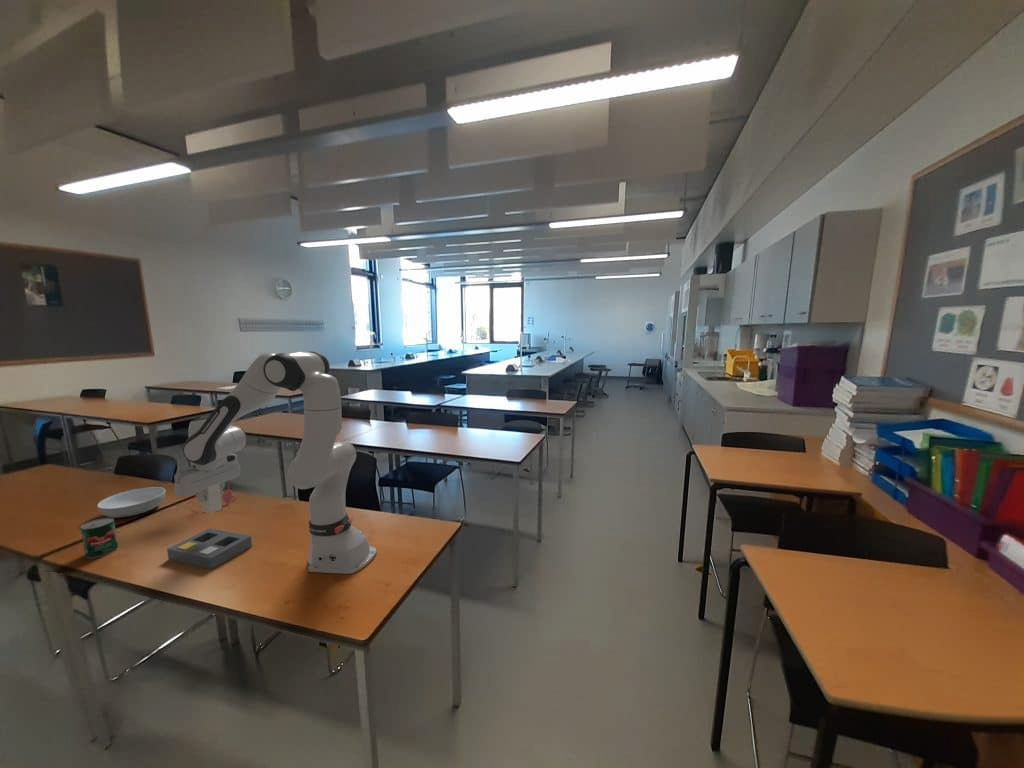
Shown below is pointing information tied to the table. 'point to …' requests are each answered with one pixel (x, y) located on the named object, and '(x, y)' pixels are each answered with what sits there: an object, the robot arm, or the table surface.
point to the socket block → (209, 548)
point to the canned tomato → (99, 537)
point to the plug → (212, 499)
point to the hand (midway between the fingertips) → (211, 498)
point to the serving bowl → (132, 502)
